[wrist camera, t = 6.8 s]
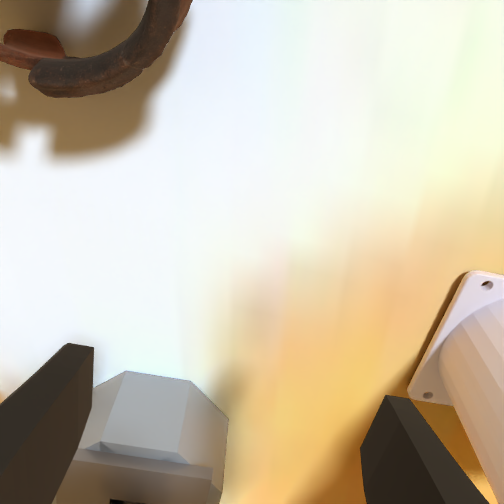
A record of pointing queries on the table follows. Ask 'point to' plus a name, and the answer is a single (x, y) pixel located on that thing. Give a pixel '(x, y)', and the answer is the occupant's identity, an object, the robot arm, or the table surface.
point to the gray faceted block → (148, 445)
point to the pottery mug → (97, 67)
